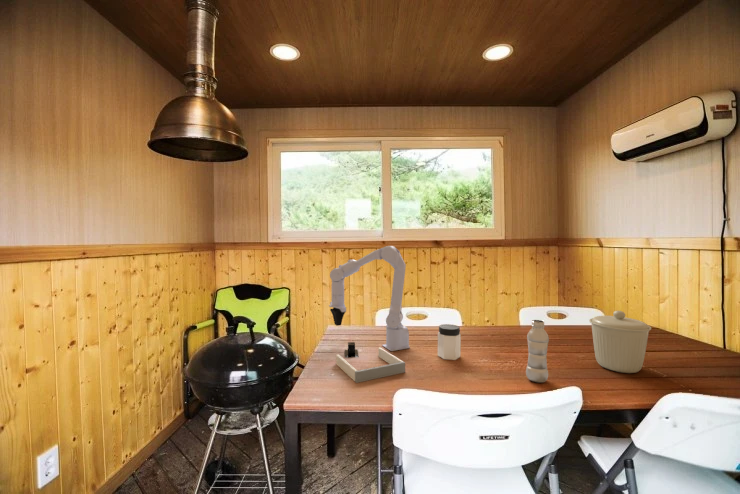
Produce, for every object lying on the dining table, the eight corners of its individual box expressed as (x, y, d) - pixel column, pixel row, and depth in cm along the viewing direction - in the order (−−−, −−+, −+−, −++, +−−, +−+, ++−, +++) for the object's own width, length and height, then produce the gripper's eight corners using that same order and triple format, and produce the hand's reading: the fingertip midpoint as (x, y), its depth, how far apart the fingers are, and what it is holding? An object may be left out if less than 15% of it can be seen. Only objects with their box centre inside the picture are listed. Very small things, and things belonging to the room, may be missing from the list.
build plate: (360, 360, 130) (360, 348, 129) (342, 360, 129) (342, 348, 129) (359, 349, 142) (359, 338, 142) (342, 349, 141) (342, 339, 141)
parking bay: (380, 356, 132) (380, 347, 132) (405, 372, 116) (405, 362, 116) (336, 364, 124) (336, 354, 123) (356, 382, 107) (356, 372, 107)
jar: (464, 358, 129) (464, 328, 129) (446, 361, 127) (446, 330, 126) (451, 351, 138) (451, 323, 137) (434, 353, 135) (434, 324, 135)
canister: (634, 382, 109) (635, 318, 108) (578, 363, 125) (579, 308, 124) (660, 372, 117) (661, 313, 117) (604, 356, 133) (605, 304, 133)
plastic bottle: (521, 377, 112) (522, 318, 112) (540, 376, 113) (541, 318, 113) (532, 385, 106) (533, 323, 106) (552, 384, 107) (553, 323, 106)
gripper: (324, 292, 152) (324, 322, 152) (335, 298, 139) (335, 329, 139) (338, 291, 155) (338, 320, 155) (350, 296, 142) (350, 327, 143)
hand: (337, 324), depth 148 cm, fingers closed
